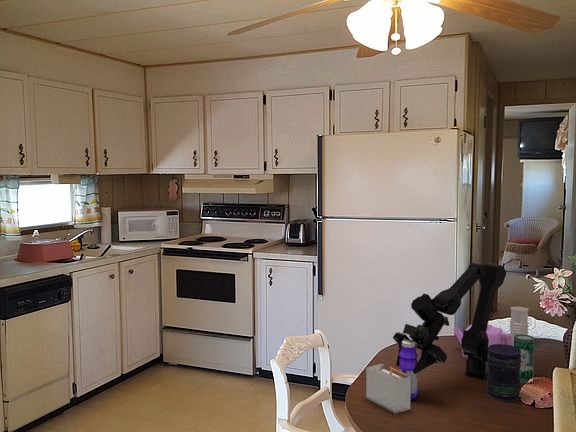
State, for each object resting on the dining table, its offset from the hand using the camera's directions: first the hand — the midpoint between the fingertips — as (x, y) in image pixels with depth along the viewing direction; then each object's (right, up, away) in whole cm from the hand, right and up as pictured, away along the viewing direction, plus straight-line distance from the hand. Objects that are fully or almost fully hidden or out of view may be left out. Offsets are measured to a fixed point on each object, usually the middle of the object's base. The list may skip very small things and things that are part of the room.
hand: (405, 369), depth 169 cm
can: (+43, -8, +14) cm, 46 cm away
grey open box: (-6, -10, -3) cm, 12 cm away
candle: (+57, -4, +50) cm, 76 cm away
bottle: (+1, -9, +2) cm, 9 cm away
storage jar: (+32, -9, +3) cm, 33 cm away
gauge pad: (-4, -9, -3) cm, 10 cm away
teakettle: (+38, -6, +38) cm, 54 cm away
